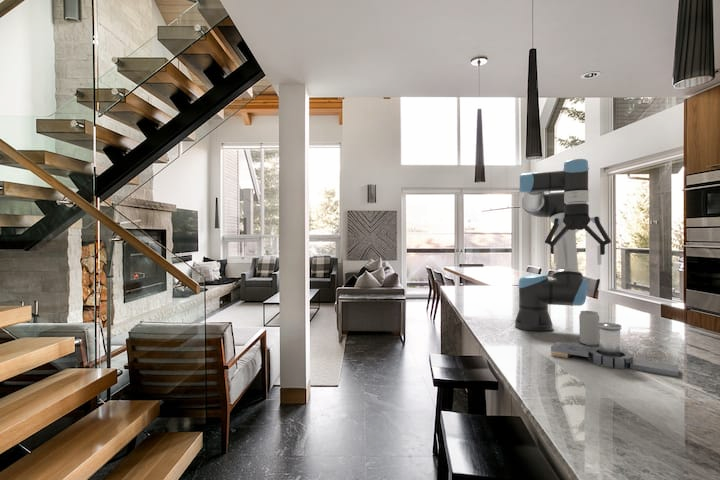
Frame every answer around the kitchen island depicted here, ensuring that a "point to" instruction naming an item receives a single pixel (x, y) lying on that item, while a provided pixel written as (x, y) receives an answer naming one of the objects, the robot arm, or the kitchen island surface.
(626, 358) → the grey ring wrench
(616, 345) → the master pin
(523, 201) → the robot arm
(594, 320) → the beverage can
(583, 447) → the kitchen island surface
